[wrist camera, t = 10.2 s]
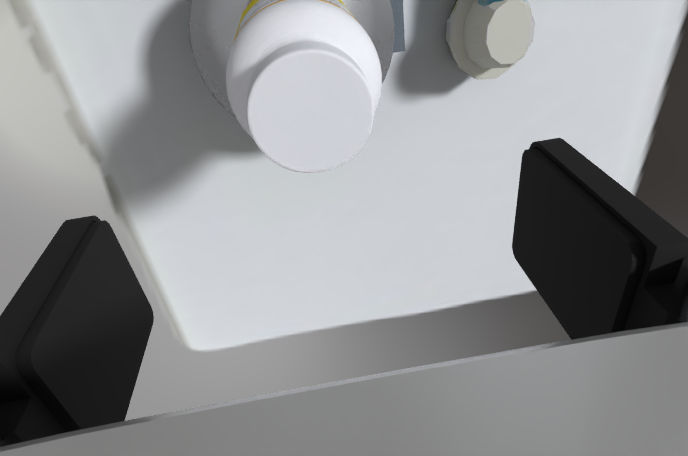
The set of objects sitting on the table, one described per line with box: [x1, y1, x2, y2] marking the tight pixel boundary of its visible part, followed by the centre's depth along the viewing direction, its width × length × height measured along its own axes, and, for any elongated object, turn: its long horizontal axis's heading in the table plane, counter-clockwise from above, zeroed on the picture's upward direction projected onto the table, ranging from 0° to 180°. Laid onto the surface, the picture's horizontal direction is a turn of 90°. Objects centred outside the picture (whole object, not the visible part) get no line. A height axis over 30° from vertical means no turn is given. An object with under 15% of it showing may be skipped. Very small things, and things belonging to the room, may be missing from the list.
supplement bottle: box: [226, 0, 382, 173], centre depth 22 cm, size 7×7×13 cm
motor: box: [189, 0, 405, 116], centre depth 30 cm, size 12×13×6 cm
